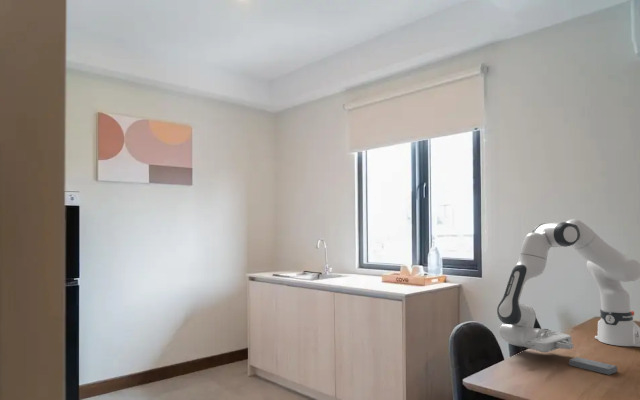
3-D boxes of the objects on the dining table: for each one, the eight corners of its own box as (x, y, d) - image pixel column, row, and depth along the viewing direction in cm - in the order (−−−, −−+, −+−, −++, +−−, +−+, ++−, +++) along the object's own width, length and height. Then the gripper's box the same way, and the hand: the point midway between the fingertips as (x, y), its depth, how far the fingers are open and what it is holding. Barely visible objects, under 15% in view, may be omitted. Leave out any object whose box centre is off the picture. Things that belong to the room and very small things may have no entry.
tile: (577, 356, 172) (616, 366, 160) (577, 363, 172) (617, 372, 160) (569, 359, 169) (608, 369, 157) (569, 366, 169) (609, 376, 157)
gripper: (522, 335, 177) (556, 342, 165) (550, 328, 188) (583, 334, 177) (523, 351, 177) (557, 359, 165) (550, 343, 188) (584, 350, 176)
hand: (571, 346), depth 171 cm, fingers closed
